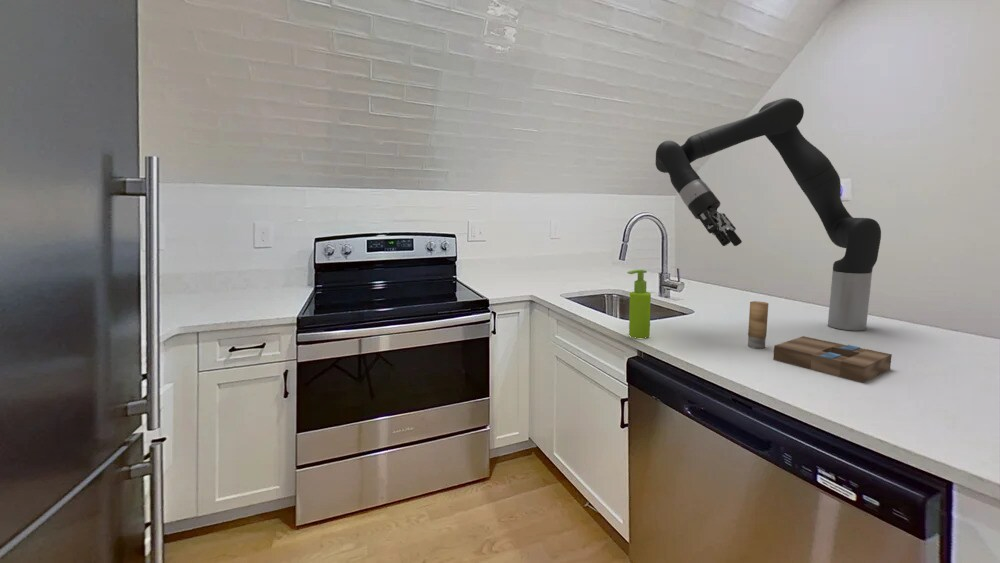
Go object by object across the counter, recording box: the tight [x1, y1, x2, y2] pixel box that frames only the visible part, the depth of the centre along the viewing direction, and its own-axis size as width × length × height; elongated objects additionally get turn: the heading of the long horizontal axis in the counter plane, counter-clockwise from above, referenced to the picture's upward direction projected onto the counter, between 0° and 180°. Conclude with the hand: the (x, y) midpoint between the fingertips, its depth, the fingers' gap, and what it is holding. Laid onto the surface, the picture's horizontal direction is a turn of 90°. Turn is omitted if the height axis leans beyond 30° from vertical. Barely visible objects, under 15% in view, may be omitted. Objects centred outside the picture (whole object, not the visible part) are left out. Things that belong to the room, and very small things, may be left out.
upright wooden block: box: [747, 300, 769, 349], centre depth 115 cm, size 4×4×12 cm
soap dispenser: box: [627, 269, 652, 339], centre depth 127 cm, size 6×7×20 cm
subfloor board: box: [772, 335, 892, 384], centre depth 101 cm, size 14×18×4 cm
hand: (733, 244), depth 118 cm, fingers open, 8 cm apart
